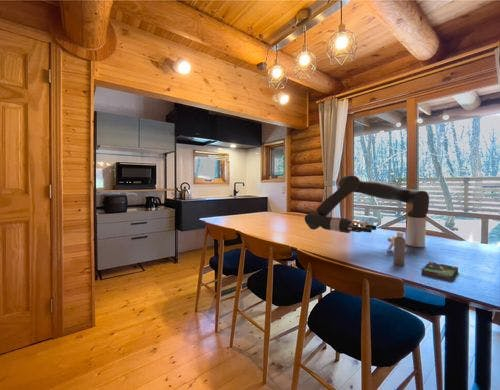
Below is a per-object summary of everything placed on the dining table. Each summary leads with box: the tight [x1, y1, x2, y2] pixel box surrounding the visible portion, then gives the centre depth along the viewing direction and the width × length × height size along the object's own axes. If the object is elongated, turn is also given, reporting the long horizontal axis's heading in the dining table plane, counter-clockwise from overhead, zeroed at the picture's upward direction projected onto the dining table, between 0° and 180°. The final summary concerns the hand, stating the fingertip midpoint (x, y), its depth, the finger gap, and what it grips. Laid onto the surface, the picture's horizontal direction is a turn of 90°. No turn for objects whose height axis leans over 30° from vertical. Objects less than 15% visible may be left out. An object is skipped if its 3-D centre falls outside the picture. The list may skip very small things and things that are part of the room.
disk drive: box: [421, 261, 459, 282], centre depth 105 cm, size 10×3×15 cm
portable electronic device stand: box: [386, 235, 408, 254], centre depth 135 cm, size 9×8×8 cm
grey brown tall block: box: [393, 231, 406, 267], centre depth 116 cm, size 4×4×15 cm
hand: (373, 229), depth 123 cm, fingers open, 8 cm apart
